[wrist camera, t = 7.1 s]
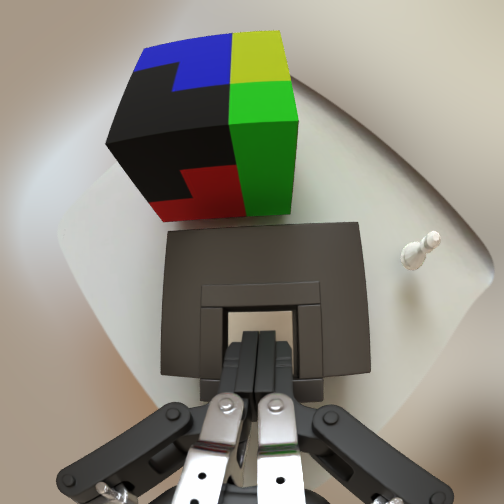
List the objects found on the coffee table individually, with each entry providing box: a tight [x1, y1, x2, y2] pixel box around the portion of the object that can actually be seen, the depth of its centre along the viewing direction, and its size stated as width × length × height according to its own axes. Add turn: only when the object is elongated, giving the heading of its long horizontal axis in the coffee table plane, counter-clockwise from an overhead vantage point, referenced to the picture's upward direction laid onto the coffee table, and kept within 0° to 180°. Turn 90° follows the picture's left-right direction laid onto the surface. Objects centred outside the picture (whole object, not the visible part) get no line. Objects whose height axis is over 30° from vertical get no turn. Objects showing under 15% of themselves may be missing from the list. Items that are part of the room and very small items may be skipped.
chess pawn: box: [401, 231, 441, 270], centre depth 18 cm, size 3×2×4 cm
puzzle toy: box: [105, 30, 299, 222], centre depth 20 cm, size 10×10×10 cm
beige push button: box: [228, 311, 294, 374], centre depth 15 cm, size 3×3×2 cm
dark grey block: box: [161, 222, 371, 403], centre depth 17 cm, size 12×10×6 cm
